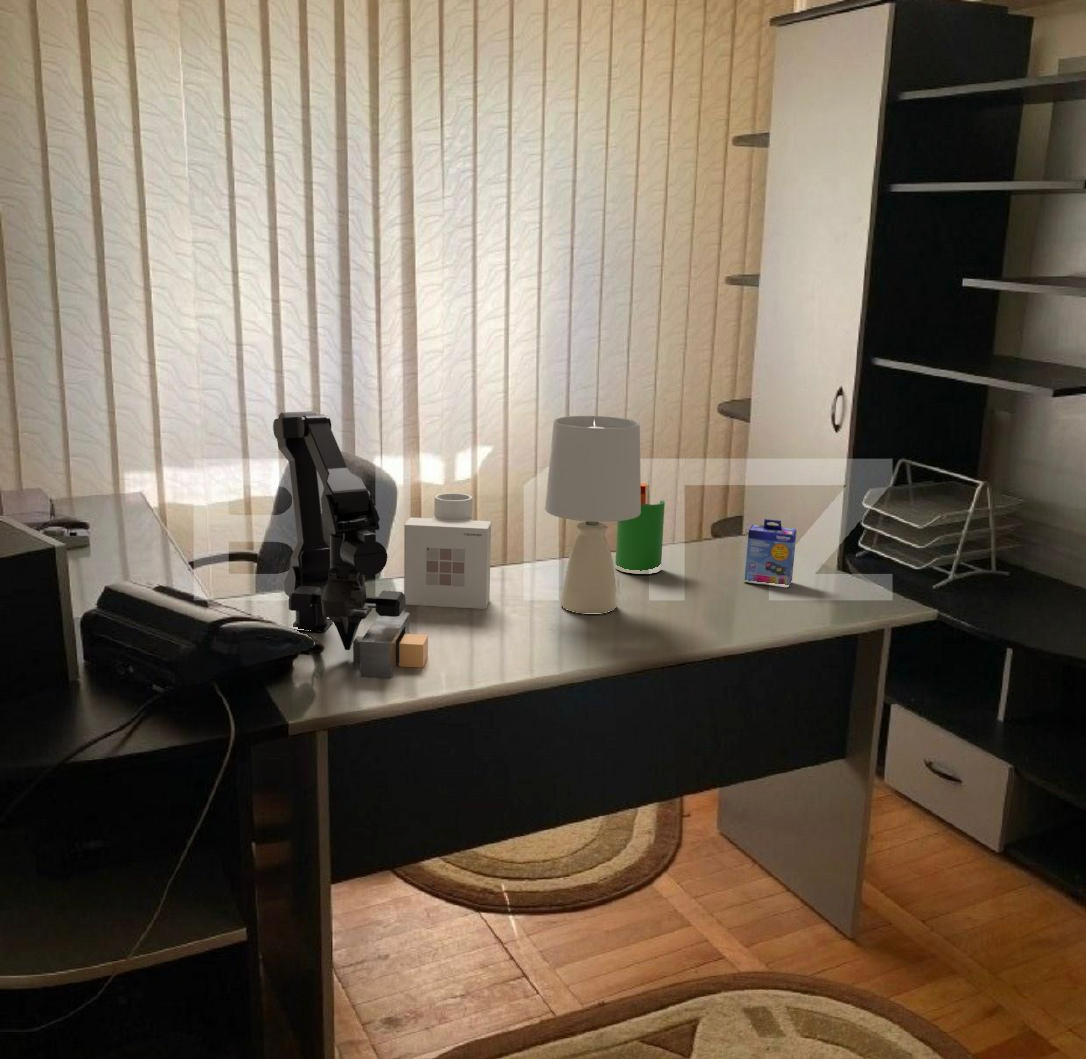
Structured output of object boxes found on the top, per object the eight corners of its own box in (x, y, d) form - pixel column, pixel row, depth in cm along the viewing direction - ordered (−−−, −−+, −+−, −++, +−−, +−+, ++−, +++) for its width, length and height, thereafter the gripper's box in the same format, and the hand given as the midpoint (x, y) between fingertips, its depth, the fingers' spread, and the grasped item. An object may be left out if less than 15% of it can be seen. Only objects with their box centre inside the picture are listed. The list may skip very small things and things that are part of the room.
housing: (381, 643, 199) (381, 611, 197) (409, 645, 198) (409, 612, 197) (360, 676, 183) (360, 641, 182) (390, 678, 183) (390, 643, 181)
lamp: (542, 620, 214) (548, 427, 205) (541, 591, 232) (547, 413, 223) (640, 623, 214) (650, 430, 206) (631, 594, 233) (640, 416, 224)
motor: (658, 565, 255) (663, 478, 251) (663, 576, 247) (669, 486, 242) (613, 564, 255) (618, 477, 250) (617, 575, 246) (622, 485, 241)
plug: (358, 653, 193) (358, 631, 192) (427, 657, 193) (428, 635, 192) (351, 663, 189) (351, 641, 188) (423, 667, 188) (423, 644, 187)
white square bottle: (403, 605, 221) (404, 505, 216) (420, 578, 239) (421, 486, 234) (485, 609, 220) (488, 509, 215) (496, 582, 238) (498, 490, 233)
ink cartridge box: (743, 583, 243) (748, 518, 239) (746, 577, 248) (751, 513, 245) (789, 589, 240) (795, 523, 237) (792, 582, 245) (798, 517, 242)
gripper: (277, 570, 180) (279, 662, 184) (392, 577, 179) (392, 669, 182) (297, 552, 191) (299, 640, 194) (406, 559, 189) (405, 646, 193)
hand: (347, 649), depth 191 cm, fingers closed
